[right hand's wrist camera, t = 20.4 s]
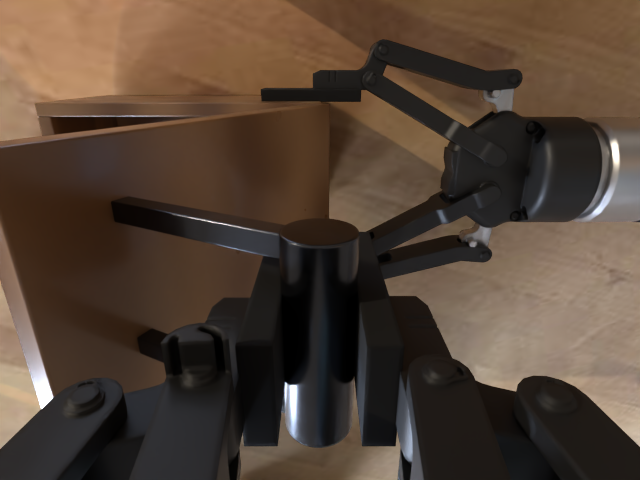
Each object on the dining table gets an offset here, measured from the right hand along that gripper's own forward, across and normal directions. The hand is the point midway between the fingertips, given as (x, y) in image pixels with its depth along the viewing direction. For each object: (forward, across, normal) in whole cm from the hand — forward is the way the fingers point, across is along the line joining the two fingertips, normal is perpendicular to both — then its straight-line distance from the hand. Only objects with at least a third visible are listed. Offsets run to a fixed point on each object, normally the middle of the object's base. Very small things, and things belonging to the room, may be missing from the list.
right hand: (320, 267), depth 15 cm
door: (+5, +5, 0) cm, 7 cm away
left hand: (+16, +4, 0) cm, 17 cm away
